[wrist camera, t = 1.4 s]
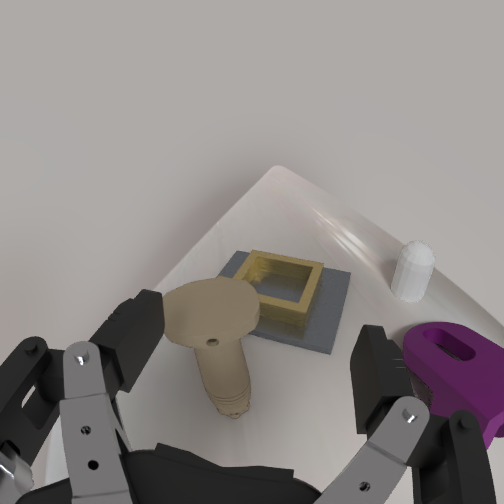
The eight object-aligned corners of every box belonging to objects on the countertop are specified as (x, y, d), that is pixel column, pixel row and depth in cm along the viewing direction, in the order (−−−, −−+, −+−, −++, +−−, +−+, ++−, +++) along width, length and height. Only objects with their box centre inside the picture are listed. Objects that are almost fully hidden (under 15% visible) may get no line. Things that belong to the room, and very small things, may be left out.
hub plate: (349, 278, 41) (353, 258, 39) (330, 354, 31) (334, 335, 29) (237, 255, 48) (235, 237, 46) (192, 316, 37) (186, 296, 35)
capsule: (391, 275, 41) (402, 230, 36) (422, 281, 39) (437, 237, 34) (389, 298, 37) (403, 251, 33) (423, 305, 35) (441, 259, 31)
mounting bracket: (383, 389, 32) (455, 483, 14) (389, 332, 31) (489, 420, 13) (439, 370, 32) (517, 439, 15) (448, 316, 31) (547, 375, 13)
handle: (200, 390, 28) (159, 286, 20) (260, 381, 29) (251, 272, 20) (205, 431, 24) (155, 341, 16) (270, 420, 25) (266, 324, 16)
